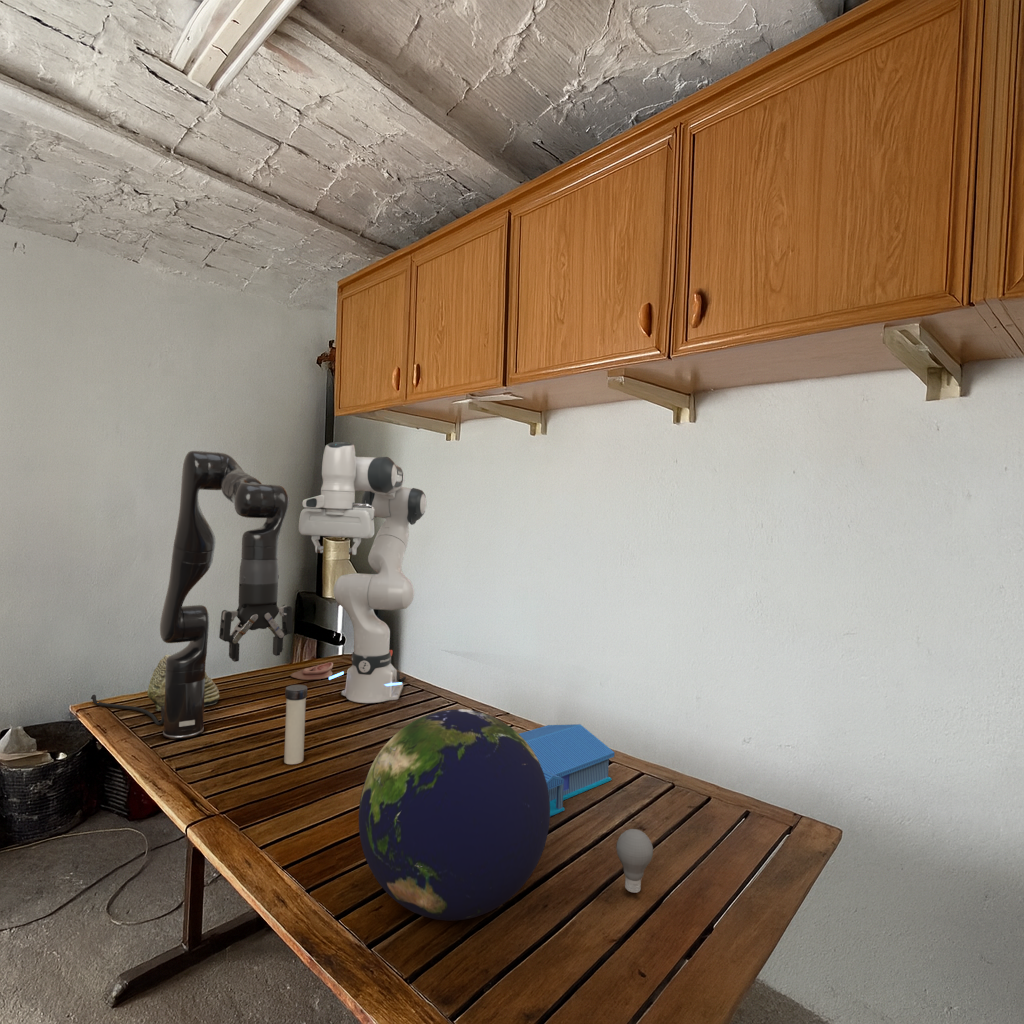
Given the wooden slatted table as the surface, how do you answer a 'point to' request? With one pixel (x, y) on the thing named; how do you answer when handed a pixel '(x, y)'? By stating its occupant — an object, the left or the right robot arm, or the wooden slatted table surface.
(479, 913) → the globe
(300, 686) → the lid
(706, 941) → the wooden slatted table surface
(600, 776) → the model building
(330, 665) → the anatomical model
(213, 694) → the fossil
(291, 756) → the beige tall cylinder
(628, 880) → the light bulb
